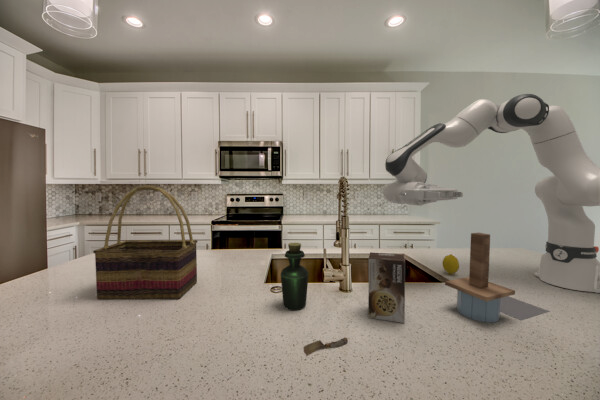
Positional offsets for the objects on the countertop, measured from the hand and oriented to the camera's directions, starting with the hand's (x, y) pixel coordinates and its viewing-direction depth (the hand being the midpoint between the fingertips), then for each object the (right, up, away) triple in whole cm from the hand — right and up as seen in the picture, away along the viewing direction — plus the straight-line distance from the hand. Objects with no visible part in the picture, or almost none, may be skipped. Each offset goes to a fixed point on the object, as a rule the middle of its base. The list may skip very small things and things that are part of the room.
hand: (451, 194), depth 81 cm
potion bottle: (-51, -33, -8) cm, 61 cm away
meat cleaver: (-44, -34, -28) cm, 62 cm away
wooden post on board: (-1, -26, -14) cm, 29 cm away
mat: (+11, -32, -9) cm, 35 cm away
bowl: (-1, -33, -14) cm, 36 cm away
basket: (-99, -32, +2) cm, 104 cm away
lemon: (+10, -31, +17) cm, 37 cm away
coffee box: (-26, -33, -14) cm, 44 cm away
